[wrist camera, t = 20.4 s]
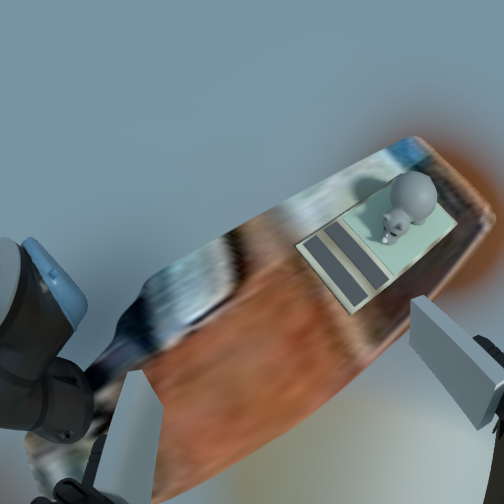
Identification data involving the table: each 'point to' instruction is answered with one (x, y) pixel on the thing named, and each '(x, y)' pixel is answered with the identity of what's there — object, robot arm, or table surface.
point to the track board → (350, 265)
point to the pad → (409, 245)
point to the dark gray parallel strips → (338, 270)
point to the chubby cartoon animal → (408, 205)
